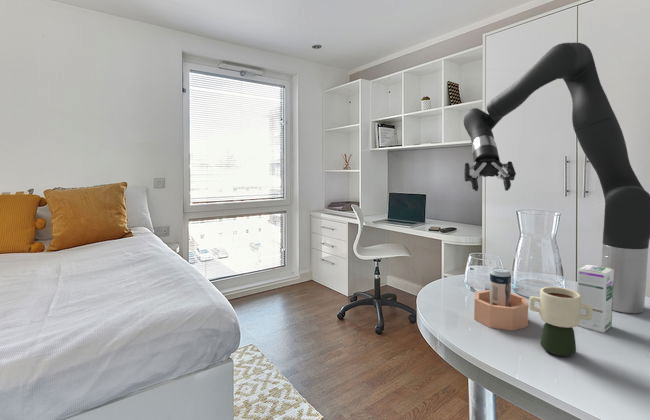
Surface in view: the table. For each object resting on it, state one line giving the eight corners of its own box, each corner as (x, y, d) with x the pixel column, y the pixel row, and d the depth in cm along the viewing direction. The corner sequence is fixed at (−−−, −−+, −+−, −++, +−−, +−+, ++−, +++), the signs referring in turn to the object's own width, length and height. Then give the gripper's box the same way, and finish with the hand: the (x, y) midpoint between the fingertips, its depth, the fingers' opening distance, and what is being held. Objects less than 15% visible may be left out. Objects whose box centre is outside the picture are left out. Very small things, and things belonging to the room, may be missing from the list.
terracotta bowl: (498, 306, 96) (498, 287, 95) (537, 324, 84) (538, 302, 84) (464, 314, 91) (464, 294, 91) (501, 333, 80) (502, 311, 80)
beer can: (512, 319, 85) (513, 273, 84) (492, 318, 86) (492, 272, 85) (506, 311, 90) (507, 267, 88) (487, 310, 91) (488, 267, 90)
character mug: (587, 349, 72) (591, 291, 71) (591, 366, 66) (595, 302, 65) (528, 337, 78) (530, 283, 77) (527, 351, 72) (529, 293, 71)
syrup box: (604, 333, 79) (608, 273, 77) (574, 324, 83) (577, 267, 82) (611, 326, 82) (615, 268, 80) (582, 318, 87) (585, 263, 85)
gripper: (463, 145, 111) (468, 181, 101) (511, 142, 107) (521, 180, 97) (460, 161, 116) (465, 197, 107) (506, 159, 113) (515, 196, 103)
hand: (491, 189), depth 102 cm, fingers open, 8 cm apart
